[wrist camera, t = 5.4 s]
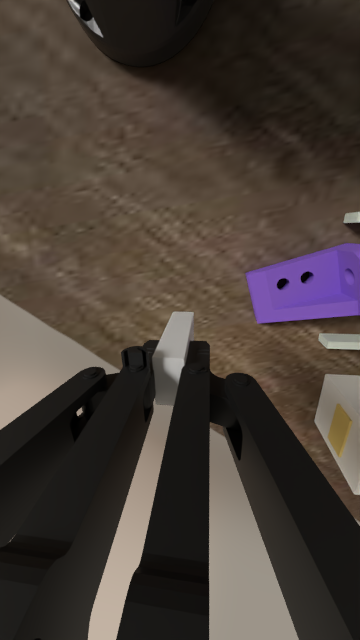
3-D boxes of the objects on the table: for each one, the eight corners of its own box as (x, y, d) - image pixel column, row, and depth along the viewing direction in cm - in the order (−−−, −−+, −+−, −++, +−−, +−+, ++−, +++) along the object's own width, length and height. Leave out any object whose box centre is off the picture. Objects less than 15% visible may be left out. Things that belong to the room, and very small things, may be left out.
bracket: (345, 242, 27) (386, 246, 21) (350, 296, 29) (388, 313, 23) (244, 272, 30) (254, 283, 24) (255, 319, 32) (266, 340, 26)
